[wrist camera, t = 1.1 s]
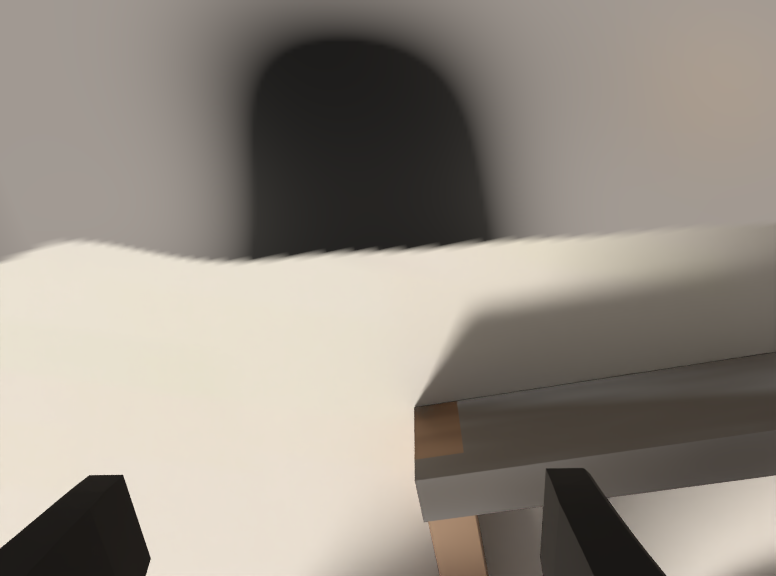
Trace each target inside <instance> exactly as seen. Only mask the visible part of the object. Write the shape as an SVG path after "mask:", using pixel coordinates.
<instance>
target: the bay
mask: <svg viewBox="0 0 776 576" xmlns="http://www.w3.org/2000/svg"><path fill="white" fill-rule="evenodd" d="M414 432H415V484H416V488H417V493H418V497H419V502H420V506H421V511H422V516H423V520H424V522H428V523H429V528H430V533H431V537H432V542H433V546H434V551H435V556H436V560H437V565H438V569H439V574H440V576H489V575H488V569H487V564H486V558H485V553H484V547H483V542H482V536H481V531H480V525H479V520H478V515H482V514H489V513H497V512H504V511H512V510H519V509H527V508H534V507H542V506H543V505H544V489H545V473H546V468H584V469H586V470H587V471H588V472H589V473H590V474H591V476H592V477H593V479H594V480H595V482H596V483H597V485H598V486H599V488H600V489H601V491H602V492H603V493H604V495H605V496H606V498H609V497H616V496H624V495H631V494H639V493H646V492H654V491H661V490H669V489H676V488H684V487H691V486H699V485H706V484H714V483H721V482H729V481H736V480H744V479H751V478H759V477H766V476H774V475H776V352H774V353H768V354H761V355H755V356H748V357H742V358H735V359H728V360H722V361H715V362H709V363H702V364H696V365H689V366H683V367H676V368H670V369H663V370H657V371H650V372H643V373H637V374H630V375H624V376H617V377H611V378H604V379H598V380H591V381H585V382H578V383H572V384H565V385H558V386H552V387H545V388H539V389H532V390H526V391H519V392H513V393H506V394H500V395H493V396H486V397H480V398H473V399H467V400H460V401H454V402H447V403H441V404H434V405H428V406H421V407H415V408H414Z"/></svg>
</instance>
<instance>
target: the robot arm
mask: <svg viewBox="0 0 776 576" xmlns="http://www.w3.org/2000/svg"><path fill="white" fill-rule="evenodd" d="M540 558H541V565H542V571H543V576H666V575H665V573H664V572H663V571H662V570H661V568H660V567H659V566H658V565H657V564H656V562H655V561H654V560H653V559H652V557H651V556H650V555H649V554H648V553H647V551H646V550H645V549H644V547H643V546H642V545H641V544H640V542H639V541H638V540H637V538H636V537H635V536H634V534H633V533H632V532H631V530H630V529H629V528H628V526H627V525H626V524H625V523H624V521H623V520H622V519H621V517H620V516H619V514H618V513H617V512H616V510H615V509H614V508H613V506H612V505H611V503H610V502H609V501H608V499H607V498H606V496H605V495H604V493H603V492H602V491H601V489H600V488H599V486H598V485H597V483H596V482H595V480H594V479H593V477H592V476H591V474H590V473H589V472H588V471H587V470H586V469H584V468H546V473H545V489H544V505H543V521H542V537H541V553H540ZM150 560H151V558H150V555H149V552H148V549H147V546H146V543H145V540H144V537H143V534H142V531H141V528H140V525H139V522H138V519H137V516H136V513H135V510H134V507H133V504H132V501H131V498H130V495H129V492H128V489H127V486H126V483H125V480H124V476H123V475H89V476H88V477H87V478H85V479H84V480H83V481H81V482H80V483H79V484H77V485H76V486H75V487H74V488H72V489H71V490H70V491H69V492H67V493H66V494H65V495H64V496H63V497H61V498H60V499H59V500H58V501H57V502H55V503H54V504H53V505H52V506H51V507H49V508H48V509H47V510H46V511H45V512H43V513H42V514H41V515H40V516H39V517H37V518H36V519H35V520H34V521H33V522H31V523H30V524H29V525H28V526H27V527H26V528H24V529H23V530H22V531H21V532H20V533H18V534H17V535H16V536H15V537H14V538H12V539H11V540H10V541H9V542H7V543H6V544H5V545H4V546H3V547H1V548H0V576H146V573H147V569H148V566H149V563H150Z"/></svg>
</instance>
